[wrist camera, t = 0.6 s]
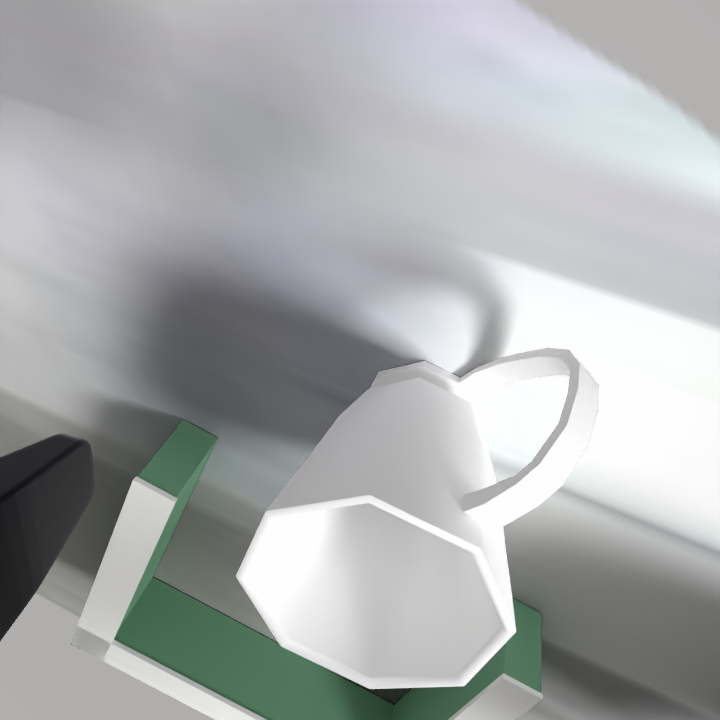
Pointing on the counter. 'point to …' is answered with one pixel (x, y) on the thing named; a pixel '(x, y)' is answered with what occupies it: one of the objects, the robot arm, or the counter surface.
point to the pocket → (245, 646)
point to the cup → (409, 526)
